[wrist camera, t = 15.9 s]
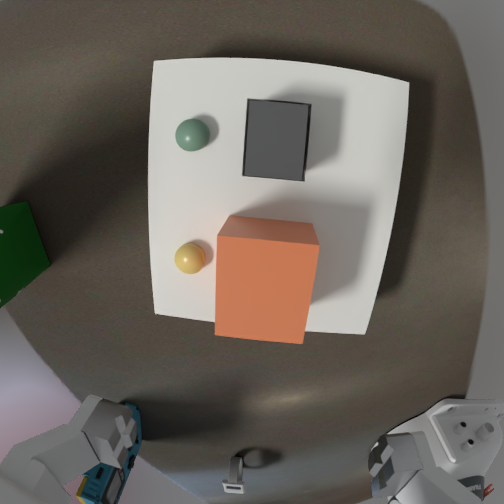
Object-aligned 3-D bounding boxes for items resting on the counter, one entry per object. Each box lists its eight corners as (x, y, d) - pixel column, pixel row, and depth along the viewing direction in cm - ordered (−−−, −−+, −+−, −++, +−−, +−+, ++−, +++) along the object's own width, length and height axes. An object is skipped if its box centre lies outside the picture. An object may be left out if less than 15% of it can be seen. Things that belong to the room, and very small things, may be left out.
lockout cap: (312, 223, 19) (319, 245, 15) (299, 308, 21) (302, 343, 18) (229, 215, 19) (217, 235, 16) (225, 301, 22) (214, 334, 18)
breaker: (302, 112, 19) (308, 105, 14) (297, 170, 20) (301, 180, 16) (256, 108, 19) (249, 100, 15) (251, 166, 20) (244, 175, 16)
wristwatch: (248, 470, 37) (245, 497, 32) (229, 468, 37) (225, 495, 33) (246, 450, 35) (243, 480, 30) (226, 448, 35) (220, 478, 30)
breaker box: (388, 89, 19) (412, 81, 15) (354, 307, 26) (366, 338, 21) (173, 71, 20) (150, 59, 16) (170, 289, 26) (152, 317, 22)
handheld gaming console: (144, 443, 37) (113, 525, 23) (119, 433, 37) (83, 512, 23) (142, 405, 33) (99, 503, 19) (112, 395, 33) (63, 487, 19)
